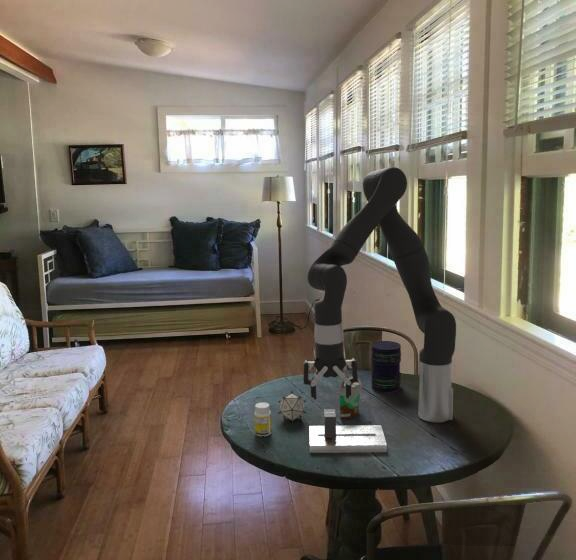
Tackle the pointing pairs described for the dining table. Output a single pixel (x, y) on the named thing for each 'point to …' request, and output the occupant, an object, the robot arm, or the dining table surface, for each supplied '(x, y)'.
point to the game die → (292, 406)
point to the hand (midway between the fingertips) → (331, 397)
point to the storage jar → (386, 366)
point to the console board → (348, 439)
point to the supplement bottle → (262, 419)
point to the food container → (350, 400)
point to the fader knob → (329, 423)
